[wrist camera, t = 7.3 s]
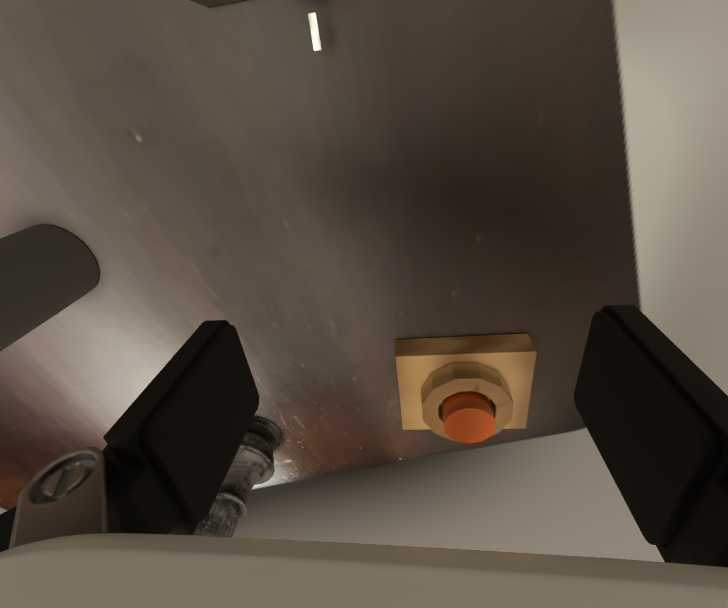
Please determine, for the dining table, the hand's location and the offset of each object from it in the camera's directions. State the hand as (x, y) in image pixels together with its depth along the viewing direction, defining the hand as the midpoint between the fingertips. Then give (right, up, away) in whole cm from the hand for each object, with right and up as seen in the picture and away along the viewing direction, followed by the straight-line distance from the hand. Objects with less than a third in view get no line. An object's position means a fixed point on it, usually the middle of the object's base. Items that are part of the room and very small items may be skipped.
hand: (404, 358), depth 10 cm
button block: (+7, -4, +20) cm, 22 cm away
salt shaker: (-12, -12, +27) cm, 32 cm away
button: (+7, -6, +17) cm, 20 cm away
